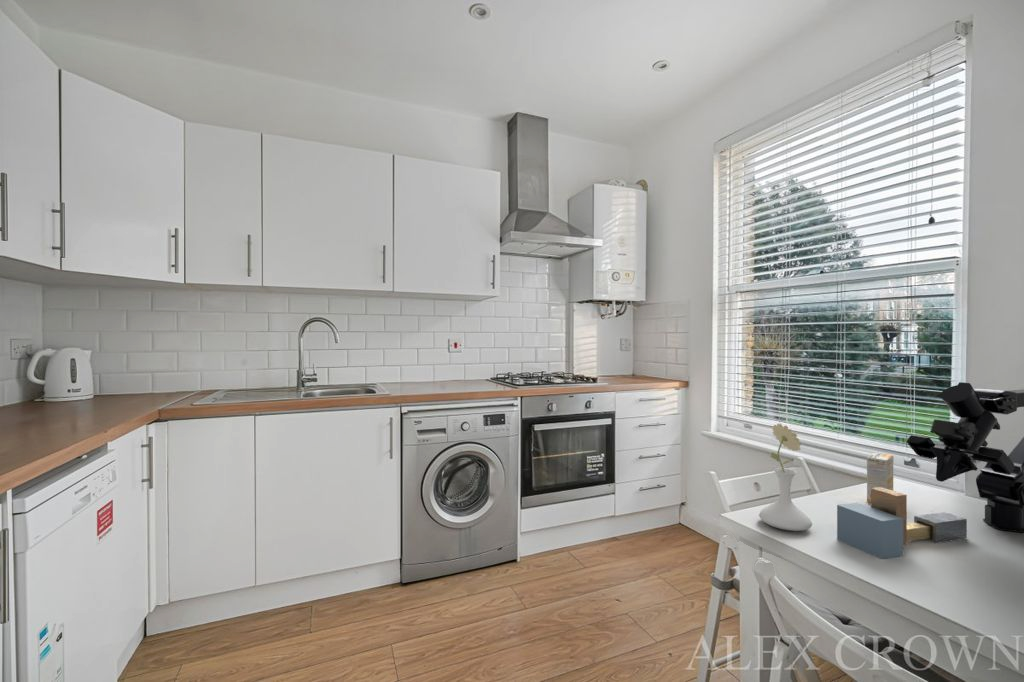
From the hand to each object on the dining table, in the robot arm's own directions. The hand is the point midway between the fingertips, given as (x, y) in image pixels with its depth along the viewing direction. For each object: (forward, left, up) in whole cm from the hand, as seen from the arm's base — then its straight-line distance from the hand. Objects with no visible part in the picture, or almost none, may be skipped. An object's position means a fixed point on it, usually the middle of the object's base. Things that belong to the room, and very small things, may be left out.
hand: (938, 480), depth 107 cm
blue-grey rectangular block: (+18, +12, -13) cm, 25 cm away
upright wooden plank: (+10, +7, -12) cm, 18 cm away
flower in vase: (+33, +5, -14) cm, 36 cm away
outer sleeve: (0, 0, -13) cm, 13 cm away
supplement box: (+3, -25, -14) cm, 29 cm away
